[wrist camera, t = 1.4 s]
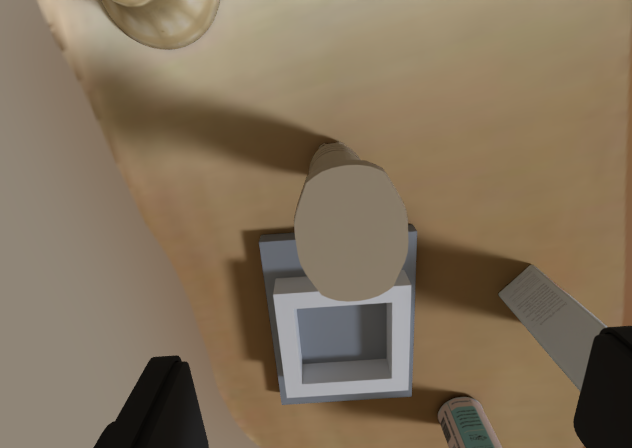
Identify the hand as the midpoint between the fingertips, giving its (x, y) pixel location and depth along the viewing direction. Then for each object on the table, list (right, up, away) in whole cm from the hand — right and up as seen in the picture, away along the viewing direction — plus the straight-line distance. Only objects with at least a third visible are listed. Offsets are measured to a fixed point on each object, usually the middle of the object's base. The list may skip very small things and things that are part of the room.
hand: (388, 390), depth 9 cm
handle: (0, +9, +21) cm, 23 cm away
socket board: (+1, -5, +27) cm, 27 cm away
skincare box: (+19, -3, +27) cm, 33 cm away
